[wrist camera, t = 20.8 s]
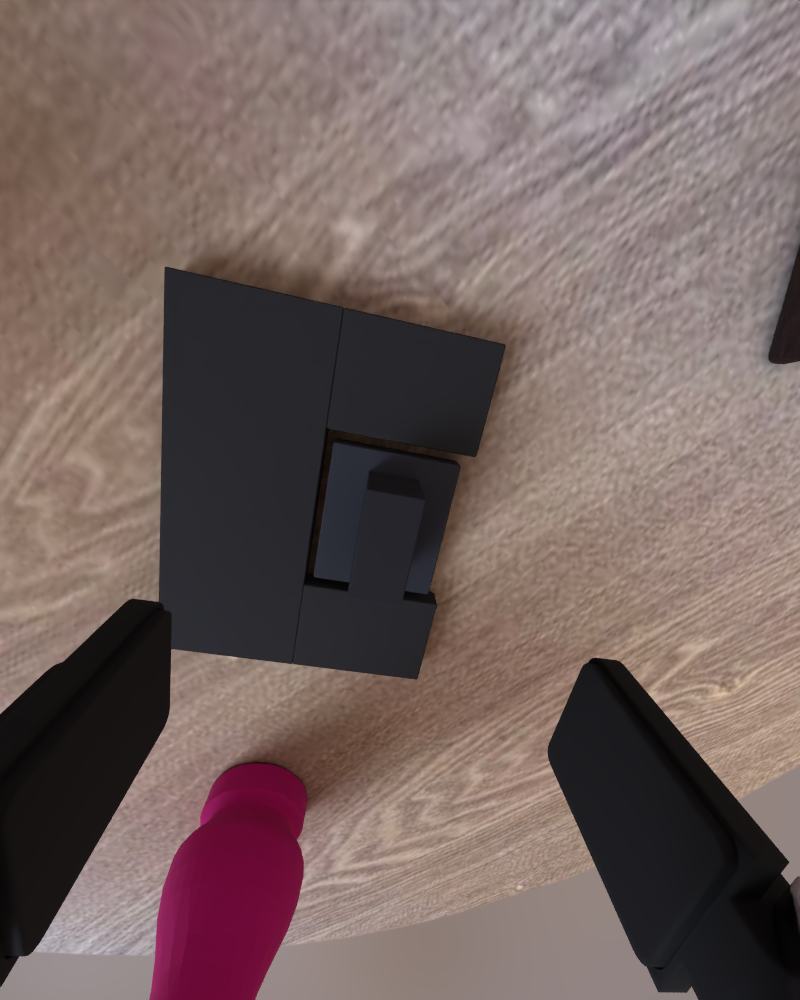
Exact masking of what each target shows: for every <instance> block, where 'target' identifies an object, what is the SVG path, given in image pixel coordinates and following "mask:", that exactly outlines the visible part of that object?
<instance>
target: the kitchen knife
mask: <svg viewBox="0 0 800 1000" xmlns="http://www.w3.org/2000/svg"><path fill="white" fill-rule="evenodd" d="M769 361H770V362H772V363H774V364H787V363H792V362H797V361H800V246H799V250H798V253H797V257H796V260H795V264H794V267H793V271H792V275H791V278H790V282H789V285H788V289H787V293H786V296H785V300H784V303H783V307H782V310H781V314H780V317H779V321H778V324H777V327H776V331H775V334H774V338H773V341H772V345H771V348H770V352H769Z"/></svg>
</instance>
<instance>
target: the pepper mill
mask: <svg viewBox="0 0 800 1000" xmlns="http://www.w3.org/2000/svg"><path fill="white" fill-rule="evenodd" d="M306 804H307V795H306V791H305V788H304V786H303V784H302V783H301V781H300V780H299V779H298V778H297V777H296V776H295V775H294V774H292V773H291V772H289V771H288V770H286V769H284V768H282V767H279V766H276V765H272V764H267V763H249V764H244V765H239V766H236V767H234V768H232V769H230V770H228V771H226V772H225V773H224V774H222V775H221V776H220V777H219V778H218V779H217V780H216V781H215V783H214V784H213V786H212V788H211V791H210V793H209V796H208V798H207V801H206V803H205V806H204V808H203V811H202V813H201V819H200V820H201V827H199V828H198V829H197V830H195V831H194V832H193V833H192V834H191V835H190V836H189V837H188V838H187V839H186V840H185V841H184V842H183V844H182V845H181V846H180V848H179V849H178V851H177V853H176V854H175V856H174V858H173V861H172V864H171V867H170V870H169V872H168V875H167V878H166V881H165V884H164V887H163V891H162V897H161V902H160V907H159V913H158V919H157V933H156V951H155V964H154V972H153V981H152V988H151V994H150V999H149V1000H255V998H256V996H257V993H258V991H259V989H260V986H261V984H262V982H263V980H264V977H265V975H266V973H267V971H268V969H269V967H270V965H271V963H272V961H273V959H274V957H275V955H276V953H277V951H278V949H279V947H280V945H281V943H282V941H283V939H284V937H285V935H286V933H287V931H288V928H289V925H290V922H291V920H292V917H293V914H294V912H295V909H296V906H297V903H298V899H299V894H300V889H301V885H302V880H303V871H304V861H303V856H302V852H301V849H300V846H299V844H298V842H297V838H298V837H299V836H300V834H301V831H302V828H303V822H304V816H305V810H306Z"/></svg>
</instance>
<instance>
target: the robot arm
mask: <svg viewBox="0 0 800 1000" xmlns="http://www.w3.org/2000/svg"><path fill="white" fill-rule="evenodd" d="M171 628H172V615H171V612H170V611H166V610H164V606H163V604H162V603H161V602H154V601H146V600H138V599H130V600H128V601H127V602H126V603H124V604H123V605H122V606H121V607H120V608H119V609H118V610H117V611H116V612H115V613H114V614H113V615H112V616H111V617H110V618H109V619H108V620H107V621H106V622H105V623H104V624H103V625H101V626H100V627H99V628H98V629H97V630H96V631H95V632H94V633H93V634H92V635H91V636H90V637H89V638H88V639H87V640H86V641H85V642H84V643H83V644H82V645H81V646H80V647H78V648H77V649H76V650H75V651H74V652H73V653H72V654H71V655H70V656H69V657H68V658H67V659H66V660H65V661H64V662H62V663H59V664H57V665H54V666H53V667H52V668H50V669H49V670H48V671H46V672H45V673H44V674H43V675H42V676H41V677H40V678H39V679H38V680H37V681H35V682H34V683H33V684H32V685H31V686H30V687H29V688H28V689H27V690H26V691H25V692H24V693H23V694H22V695H20V696H19V697H18V698H17V699H16V700H15V701H14V702H13V703H12V704H11V705H10V706H9V707H8V708H7V709H6V710H4V711H3V712H2V713H1V714H0V987H1V986H2V984H3V983H4V981H5V979H6V978H7V976H8V974H9V972H10V971H11V969H12V968H13V966H14V964H15V963H16V961H17V959H18V957H19V956H28V955H29V954H31V953H32V952H33V951H34V949H35V948H36V947H37V945H38V944H39V943H40V941H41V939H42V938H43V936H44V935H45V933H46V931H47V929H48V928H49V926H50V924H51V923H52V921H53V919H54V917H55V916H56V914H57V912H58V910H59V909H60V907H61V905H62V903H63V902H64V900H65V898H66V897H67V895H68V893H69V891H70V890H71V888H72V886H73V884H74V883H75V881H76V879H77V878H78V876H79V874H80V872H81V871H82V869H83V867H84V865H85V864H86V862H87V860H88V858H89V857H90V855H91V853H92V852H93V850H94V848H95V846H96V845H97V843H98V841H99V839H100V838H101V836H102V834H103V832H104V831H105V829H106V827H107V826H108V824H109V822H110V820H111V819H112V817H113V815H114V813H115V812H116V810H117V808H118V807H119V805H120V803H121V801H122V800H123V798H124V796H125V794H126V793H127V791H128V789H129V787H130V786H131V784H132V782H133V781H134V779H135V777H136V775H137V774H138V772H139V770H140V768H141V767H142V765H143V763H144V761H145V760H146V758H147V756H148V755H149V753H150V751H151V749H152V748H153V746H154V744H155V742H156V741H157V739H158V737H159V736H160V734H161V732H162V730H163V728H164V726H165V724H166V722H167V719H168V715H169V710H170V673H171ZM548 758H549V762H550V764H551V767H552V769H553V771H554V773H555V776H556V778H557V780H558V782H559V785H560V787H561V789H562V791H563V794H564V796H565V798H566V800H567V803H568V805H569V807H570V809H571V812H572V814H573V816H574V818H575V820H576V823H577V825H578V827H579V829H580V832H581V834H582V836H583V838H584V841H585V843H586V845H587V847H588V850H589V852H590V854H591V856H592V859H593V861H594V863H595V865H596V868H597V870H598V872H599V874H600V876H601V878H602V881H603V883H604V885H605V888H606V890H607V892H608V894H609V897H610V899H611V901H612V903H613V905H614V908H615V910H616V912H617V914H618V917H619V919H620V921H621V923H622V925H623V928H624V930H625V932H626V935H627V937H628V939H629V941H630V944H631V946H632V948H633V950H634V952H635V954H636V956H637V957H638V959H639V960H640V962H641V963H642V964H644V965H645V966H647V968H648V970H649V973H650V975H651V977H652V979H653V981H654V984H655V986H656V988H657V990H658V992H687V991H688V990H689V989H690V988H691V986H692V988H693V990H694V992H695V994H696V996H697V997H698V1000H800V877H797V878H796V879H795V880H794V881H793V883H792V884H791V885H789V884H788V882H787V881H786V880H785V878H784V877H783V876H782V875H781V872H782V871H783V870H784V868H785V867H786V866H787V864H788V863H789V861H788V860H787V859H786V858H785V857H784V855H783V854H782V853H781V852H780V851H779V849H778V848H777V847H776V846H775V845H774V843H773V842H772V841H771V840H770V839H769V838H768V836H767V835H766V834H765V833H764V831H763V830H762V829H761V828H760V827H759V826H758V824H757V823H756V822H755V821H754V820H753V818H752V817H751V816H750V815H749V814H748V812H747V811H746V810H745V809H744V808H743V807H742V805H741V804H740V803H739V802H738V800H737V799H736V798H735V797H734V796H733V795H732V793H731V792H730V791H729V790H728V789H727V787H726V786H725V785H724V784H723V783H722V781H721V780H720V779H719V778H718V777H717V775H716V774H715V773H714V772H713V771H712V770H711V768H710V767H709V766H708V765H707V764H706V762H705V761H704V760H703V759H702V758H701V756H700V755H699V754H698V753H697V752H696V750H695V749H694V748H693V747H692V746H691V745H690V743H689V742H688V741H687V740H686V739H685V737H684V736H683V735H682V734H681V733H680V731H679V730H678V729H677V728H676V727H675V725H674V724H673V723H672V722H671V721H670V720H669V718H668V717H667V716H666V715H665V714H664V712H663V711H662V710H661V709H660V708H659V706H658V705H657V704H656V703H655V702H654V700H653V699H652V698H651V697H650V696H649V695H648V693H647V692H646V691H645V690H644V689H643V687H642V686H641V685H640V684H639V683H638V681H637V680H636V679H635V678H634V677H633V675H632V674H631V673H630V672H629V671H628V670H627V668H626V667H625V666H624V665H623V664H622V663H621V662H619V661H617V660H609V659H602V658H592V659H591V660H590V661H589V662H588V663H586V664H584V665H583V667H582V669H581V671H580V673H579V675H578V678H577V680H576V682H575V685H574V687H573V689H572V692H571V694H570V696H569V699H568V701H567V703H566V706H565V708H564V710H563V713H562V715H561V717H560V720H559V722H558V724H557V727H556V729H555V731H554V734H553V736H552V738H551V741H550V743H549V746H548Z"/></svg>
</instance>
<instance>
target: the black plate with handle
mask: <svg viewBox="0 0 800 1000" xmlns="http://www.w3.org/2000/svg"><path fill="white" fill-rule="evenodd" d="M460 468H461V467H460V465H459V464H458V463H457V462H456V461H454V460H449V459H444V458H438V457H433V456H428V455H423V454H417V453H412V452H407V451H402V450H397V449H391V448H386V447H381V446H376V445H371V444H365V443H360V442H355V441H350V440H344V439H339V438H337V439H336V440H335V442H334V443H333V450H332V456H331V463H330V470H329V476H328V483H327V489H326V496H325V503H324V509H323V516H322V522H321V529H320V536H319V542H318V549H317V556H316V562H315V569H314V577H317V578H323V579H330V580H336V581H343V582H349V588H348V595H347V597H348V598H350V599H357V600H364V601H370V602H377V603H384V604H391V605H398V606H401V605H402V602H403V598H404V593H405V591H409V592H416V593H422V594H428V593H429V590H430V586H431V582H432V578H433V574H434V570H435V566H436V562H437V558H438V554H439V550H440V547H441V543H442V539H443V535H444V531H445V527H446V523H447V519H448V515H449V511H450V507H451V503H452V500H453V496H454V492H455V488H456V484H457V480H458V476H459V472H460Z"/></svg>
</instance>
